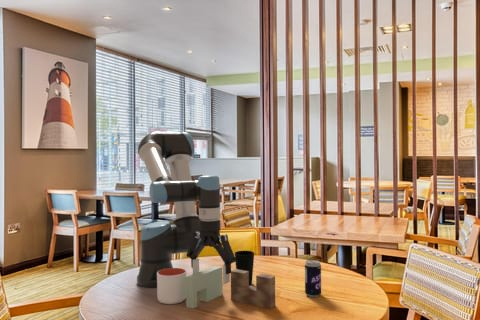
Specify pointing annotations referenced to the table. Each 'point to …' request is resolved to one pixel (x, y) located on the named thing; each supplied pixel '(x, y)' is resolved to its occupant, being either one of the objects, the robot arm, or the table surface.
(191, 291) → the sage plate
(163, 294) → the cup
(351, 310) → the table surface
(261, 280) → the walnut stand
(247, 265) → the cup
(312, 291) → the beverage can
